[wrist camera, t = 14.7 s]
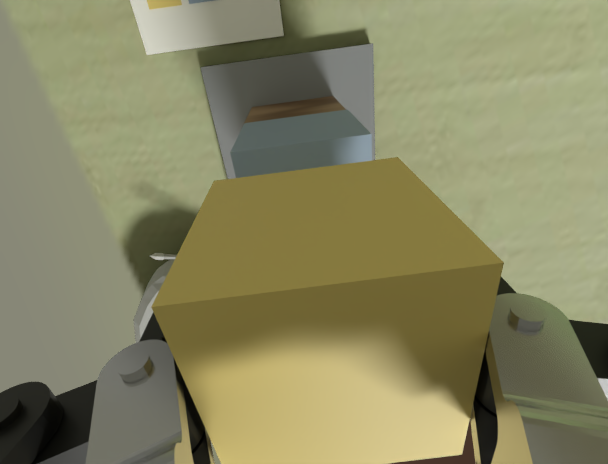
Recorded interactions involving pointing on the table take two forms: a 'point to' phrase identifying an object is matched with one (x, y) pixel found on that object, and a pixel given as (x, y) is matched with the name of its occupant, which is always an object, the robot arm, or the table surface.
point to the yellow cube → (330, 317)
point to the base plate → (289, 88)
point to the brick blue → (300, 143)
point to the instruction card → (204, 22)
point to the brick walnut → (293, 109)
